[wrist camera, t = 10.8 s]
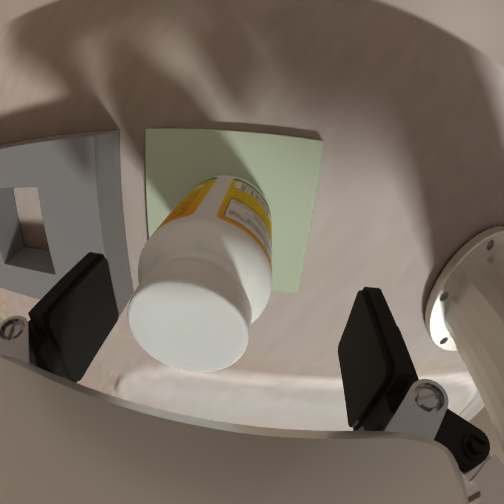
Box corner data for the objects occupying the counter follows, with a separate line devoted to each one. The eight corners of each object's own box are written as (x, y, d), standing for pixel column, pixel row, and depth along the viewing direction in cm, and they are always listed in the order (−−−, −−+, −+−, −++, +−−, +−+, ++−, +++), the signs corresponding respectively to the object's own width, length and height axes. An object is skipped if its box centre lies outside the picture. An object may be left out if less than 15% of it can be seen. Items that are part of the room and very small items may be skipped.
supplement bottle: (276, 177, 16) (288, 271, 7) (265, 261, 18) (263, 391, 10) (181, 170, 16) (94, 249, 7) (181, 252, 18) (125, 370, 10)
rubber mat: (322, 140, 15) (324, 141, 15) (297, 289, 20) (297, 293, 19) (149, 128, 15) (145, 129, 15) (155, 273, 20) (152, 277, 19)
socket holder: (119, 129, 15) (93, 136, 12) (133, 292, 21) (118, 317, 18) (-20, 149, 15) (-43, 159, 13) (3, 267, 21) (-14, 283, 18)
